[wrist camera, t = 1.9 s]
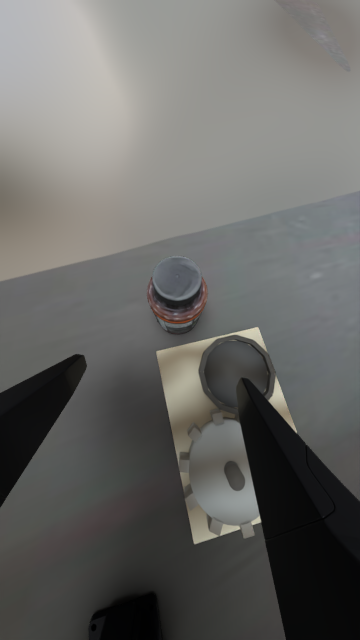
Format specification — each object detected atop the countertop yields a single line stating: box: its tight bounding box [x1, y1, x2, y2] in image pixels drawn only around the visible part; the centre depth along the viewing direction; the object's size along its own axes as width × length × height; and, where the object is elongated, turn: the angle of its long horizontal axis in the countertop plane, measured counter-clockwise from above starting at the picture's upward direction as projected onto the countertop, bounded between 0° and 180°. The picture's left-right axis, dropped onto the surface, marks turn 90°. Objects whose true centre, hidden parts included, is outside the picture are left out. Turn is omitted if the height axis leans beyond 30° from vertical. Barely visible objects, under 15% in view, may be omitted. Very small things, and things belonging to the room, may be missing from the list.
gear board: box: [156, 327, 297, 544], centre depth 18 cm, size 20×14×4 cm
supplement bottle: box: [147, 256, 208, 334], centre depth 18 cm, size 6×6×11 cm
